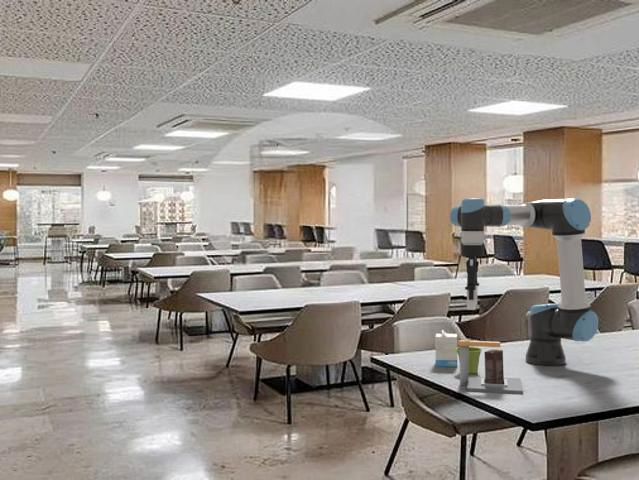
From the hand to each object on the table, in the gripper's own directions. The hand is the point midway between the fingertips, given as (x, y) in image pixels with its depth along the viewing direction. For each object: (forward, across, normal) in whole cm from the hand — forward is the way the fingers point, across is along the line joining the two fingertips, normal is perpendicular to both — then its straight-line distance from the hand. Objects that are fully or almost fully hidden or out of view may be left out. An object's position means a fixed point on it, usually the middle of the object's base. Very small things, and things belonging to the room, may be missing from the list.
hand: (472, 307), depth 230 cm
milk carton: (+27, -36, -12) cm, 47 cm away
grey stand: (+27, -4, +6) cm, 28 cm away
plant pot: (+27, -24, -2) cm, 37 cm away
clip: (+14, -4, +2) cm, 14 cm away
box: (+27, -4, +7) cm, 29 cm away
